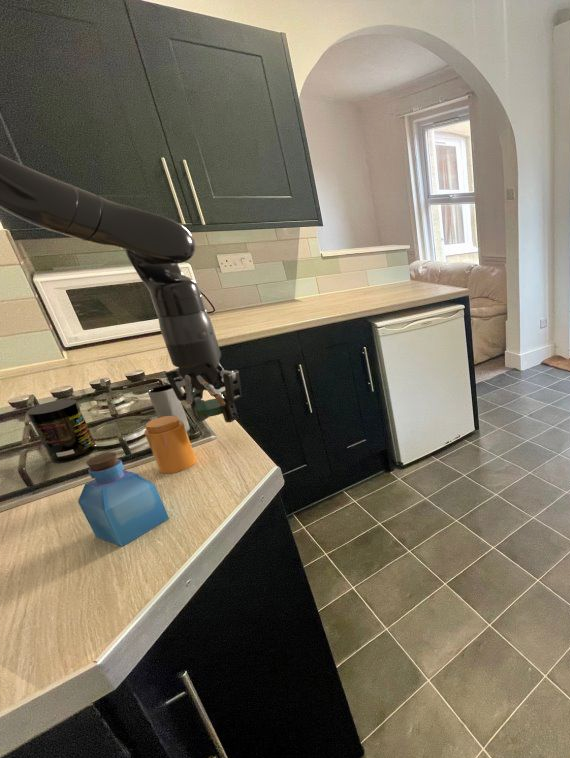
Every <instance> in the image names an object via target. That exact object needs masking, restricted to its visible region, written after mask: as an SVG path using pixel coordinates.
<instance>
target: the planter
mask: <svg viewBox="0 0 570 758" xmlns="http://www.w3.org/2000/svg"><path fill="white" fill-rule="evenodd" d="M147 393H148V397H149V398H150V402H151V404H152V406H153V409H154V412H155V415H156V418H160V417H164V416H177V417H178V419H179V421H182V422H183V423H184V426H185V429H186V431H187V432H189V431H190V429H191V427H190V424H189V421H188V418H187V415H186V412H185V410H184V407H183V404H182V401H180V400H178V398H177V396H176V394H175V392H174V390H173V388H172V386H171V384H170V383H168V384H167V383H166V384H161V385H157V386H154V387H151V388H149V389H148V390H147Z"/></svg>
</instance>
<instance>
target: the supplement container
mask: <svg viewBox="0 0 570 758" xmlns="http://www.w3.org/2000/svg"><path fill="white" fill-rule="evenodd" d="M78 403H79V402H78V401H77V400H76V399H70V398H69V399H68V398H67V399H60V400H53V401H50V402H45V403H43V404H39V405H37V406H34V407H32V408H29V409H28V410H27V411H26V415H27V417H28V419H29V422H31V424H32V426H33V428H34V430H35V432H36V434H37V436H38V439H39V440H40V442H41V444H42V446H43V448H44V450H45V451H46V454H47V456H48V457H49V460H51V461H53V462H56V463H63V462H70V461H75V460H77V459H80V458H83V457H86V456H87V455H89V454H91V453H93V452H94V451H95V450H96V449H97V443H96V441H95V439H94V437H93V435H92V432H91V430H90V428H89V425H88V423H87V422H86V419H85V417H84V414H83V413H82V411H81V407H80V406H79V404H78Z"/></svg>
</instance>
